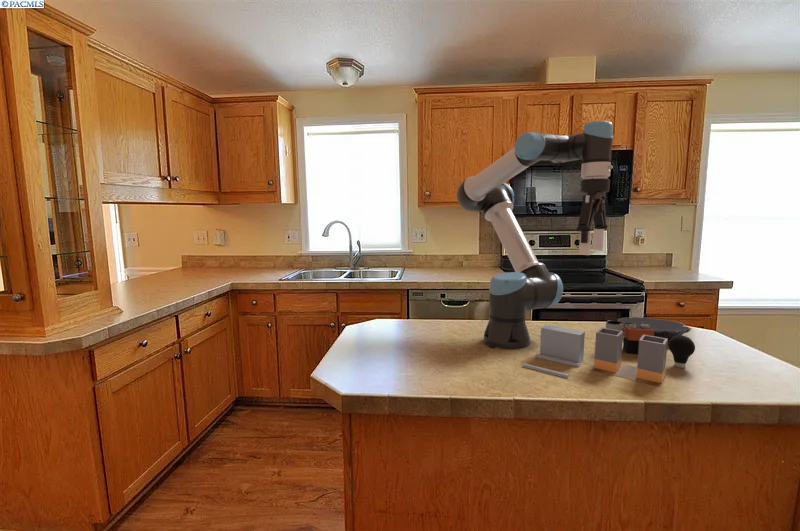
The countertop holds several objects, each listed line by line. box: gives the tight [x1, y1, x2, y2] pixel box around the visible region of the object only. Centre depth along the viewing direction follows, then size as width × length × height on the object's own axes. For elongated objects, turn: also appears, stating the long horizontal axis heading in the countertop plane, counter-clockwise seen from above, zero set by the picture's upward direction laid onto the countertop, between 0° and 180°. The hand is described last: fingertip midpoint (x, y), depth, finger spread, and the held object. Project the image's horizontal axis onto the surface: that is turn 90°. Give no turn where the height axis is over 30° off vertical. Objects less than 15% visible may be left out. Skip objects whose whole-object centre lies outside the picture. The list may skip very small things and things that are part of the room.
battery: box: [622, 324, 654, 355], centre depth 118 cm, size 4×7×10 cm, turn 78°
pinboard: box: [590, 363, 668, 388], centre depth 104 cm, size 16×10×8 cm, turn 49°
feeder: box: [522, 324, 586, 379], centre depth 110 cm, size 12×15×10 cm
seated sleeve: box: [593, 327, 624, 373], centre depth 106 cm, size 5×5×10 cm
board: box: [616, 316, 692, 342], centre depth 137 cm, size 22×22×5 cm
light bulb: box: [668, 335, 696, 369], centre depth 107 cm, size 6×6×10 cm
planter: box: [605, 319, 624, 332], centre depth 119 cm, size 4×4×10 cm
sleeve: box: [636, 335, 669, 383], centre depth 100 cm, size 5×5×10 cm
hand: (591, 252), depth 115 cm, fingers open, 13 cm apart
